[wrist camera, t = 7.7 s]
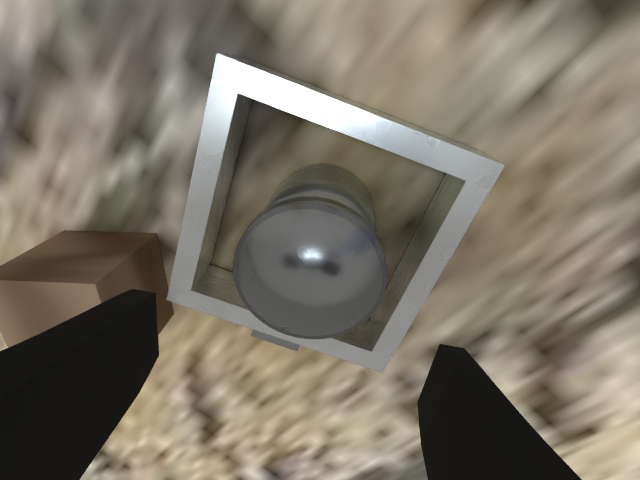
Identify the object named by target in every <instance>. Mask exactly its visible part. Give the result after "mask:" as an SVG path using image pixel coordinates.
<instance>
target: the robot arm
mask: <svg viewBox="0 0 640 480" xmlns="http://www.w3.org/2000/svg"><path fill="white" fill-rule="evenodd" d="M158 356H159V346H158V326H157V306H156V293H153V292H148V291H142V290H137V289H130V290H128V291H126V292H124V293H121V294H119V295H117V296H115V297H113V298H111V299H109V300H107V301H105V302H103V303H101V304H99V305H97V306H95V307H93V308H91V309H89V310H87V311H85V312H83V313H81V314H79V315H77V316H75V317H73V318H71V319H69V320H66V321H64V322H62V323H60V324H58V325H56V326H54V327H52V328H50V329H48V330H46V331H44V332H42V333H40V334H38V335H36V336H33V337H31V338H29V339H27V340H24V341H22V342H20V343H18V344H16V345H13V346H11V347H9V348H7V349H5V350H2V351H0V480H79V479H80V478H81V476H82V475H83V474H84V472H85V471H86V469H87V468H88V466H89V465H90V464H91V462H92V461H93V459H94V458H95V456H96V455H97V453H98V452H99V451H100V449H101V448H102V446H103V445H104V443H105V442H106V440H107V439H108V438H109V436H110V435H111V433H112V432H113V430H114V429H115V427H116V426H117V425H118V423H119V422H120V420H121V419H122V417H123V416H124V414H125V413H126V411H127V410H128V408H129V407H130V406H131V404H132V403H133V401H134V400H135V398H136V397H137V395H138V394H139V392H140V390H141V388H142V387H143V385H144V383H145V381H146V379H147V377H148V376H149V374H150V372H151V370H152V368H153V366H154V364H155V362H156V360H157V358H158ZM418 414H419V427H420V437H421V446H422V451H423V456H424V461H425V466H426V471H427V476H428V480H582V479H581V478H580V477H579V476H578V475H577V474H576V473H575V472H574V471H573V470H572V469H571V468H570V467H569V466H568V465H567V464H566V463H565V462H564V461H563V460H562V459H561V458H560V457H559V456H558V454H557V453H556V452H555V451H554V450H553V449H552V448H551V447H550V446H549V445H548V444H547V443H546V442H545V441H544V440H543V438H542V437H541V436H540V435H539V434H538V433H537V432H536V431H535V430H534V429H533V427H532V426H531V425H530V424H529V423H528V422H527V421H526V420H525V418H524V417H523V416H522V415H521V414H520V413H519V412H518V410H517V409H516V408H515V407H514V406H513V405H512V404H511V402H510V401H509V400H508V399H507V398H506V397H505V395H504V394H503V393H502V392H501V391H500V389H499V388H498V387H497V386H496V385H495V384H494V382H493V381H492V380H491V379H490V378H489V376H488V375H487V374H486V373H485V372H484V371H483V369H482V368H481V367H480V366H479V365H478V363H477V362H476V361H475V360H474V359H473V358H472V357H471V355H470V354H469V353H468V352H467V351H466V350H465V349H464V348H459V347H454V346H448V345H443V344H440V345H439V347H438V350H437V352H436V355H435V358H434V360H433V363H432V366H431V368H430V371H429V374H428V376H427V379H426V381H425V384H424V387H423V389H422V392H421V395H420V397H419V400H418Z"/></svg>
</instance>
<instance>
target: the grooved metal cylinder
mask: <svg viewBox="0 0 640 480" xmlns="http://www.w3.org/2000/svg"><path fill="white" fill-rule="evenodd" d="M233 277H234V282H235V286H236V289H237V291H238V294H239V296H240V298H241V299H242V301H243V303H244V304H245V305H246V307H247V308H248V309H249V311H250V312H251V313H252V314H253V315H254V316H255V317H256V318H257V319H259V320H260V321H261V322H262V323H264V324H265V325H267V326H268V327H270V328H272V329H274V330H276V331H278V332H280V333H283V334H286V335H289V336H292V337H296V338H303V339H326V338H333V337H336V336H340V335H343V334H345V333H348V332H350V331H352V330H354V329H356V328H358V327H359V326H360V325H362V324H363V323H365V322H366V321H367V320H368V319H369V318H370V317H371V316H372V315H373V313H374V312H375V311H376V310H377V308H378V306H379V305H380V303H381V301H382V299H383V296H384V294H385V290H386V286H387V266H386V260H385V255H384V250H383V247H382V244H381V241H380V239H379V237H378V235H377V231H376V225H375V218H374V211H373V205H372V200H371V197H370V195H369V192H368V191H367V189H366V187H365V186H364V184H363V183H362V182H361V181H360V180H359V179H358V178H357V177H356V176H355V175H354V174H352V173H351V172H349V171H348V170H346V169H344V168H341V167H339V166H335V165H330V164H312V165H308V166H305V167H302V168H300V169H298V170H296V171H294V172H293V173H292V174H290V175H289V176H288V177H287V178H286V179H285V180H284V181H283V182H282V184H281V185H280V186H279V188H278V190H277V191H276V193H275V194H274V196H273V197H272V199H271V201H270V202H269V204H268V205H267V207H266V208H265V210H264V211H263V212H261V213H260V214H259V215H258V216H257V217H256V218H255V219H254V220H253V221H252V223H251V224H250V225H249V227H248V228H247V230H246V231H245V233H244V234H243V236H242V237H241V239H240V241H239V243H238V245H237V248H236V251H235V254H234V259H233Z"/></svg>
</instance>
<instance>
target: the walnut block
mask: <svg viewBox="0 0 640 480" xmlns="http://www.w3.org/2000/svg"><path fill="white" fill-rule="evenodd" d="M130 289H137V290H142V291H148V292H153V293H156V306H157V326H158V335H159V333H160V332H161V330H162V329H163V328H164V326H165V325H166V324H167V322H168V321H169V320H170V318H171V317H172V316H173V314H174V312H173V307H172V303H171V301H168V300H167V295H168V290H169V288H168V284H167V279H166V274H165V270H164V265H163V260H162V255H161V251H160V246H159V241H158V237H157V233H131V232H96V231H63V232H61V233H59V234H58V235H56V236H54V237H52V238H50V239H48V240H47V241H45V242H43V243H41V244H39V245H38V246H36V247H34V248H32V249H30V250H29V251H27V252H25V253H23V254H21V255H20V256H18V257H16V258H14V259H12V260H10V261H9V262H7V263H5V264H3V265H1V266H0V331H1V333H2V335H3V337H4V340H5V342H6V344H7V346H8V348H9V347H11V346H13V345H16V344H18V343H20V342H22V341H24V340H27V339H29V338H31V337H33V336H36V335H38V334H40V333H42V332H44V331H46V330H48V329H50V328H52V327H54V326H56V325H58V324H60V323H62V322H64V321H66V320H69V319H71V318H73V317H75V316H77V315H79V314H81V313H83V312H85V311H87V310H89V309H91V308H93V307H95V306H97V305H99V304H101V303H103V302H105V301H107V300H109V299H111V298H113V297H115V296H117V295H119V294H121V293H124V292H126V291H128V290H130Z"/></svg>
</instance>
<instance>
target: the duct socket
mask: <svg viewBox="0 0 640 480" xmlns="http://www.w3.org/2000/svg"><path fill="white" fill-rule="evenodd" d="M252 99H254V100H257V101H260V102H262V103H265V104H268V105H270V106H273V107H275V108H278V109H281V110H283V111H286V112H288V113H291V114H294V115H296V116H299V117H301V118H304V119H307V120H309V121H312V122H314V123H317V124H320V125H322V126H325V127H327V128H330V129H333V130H335V131H338V132H340V133H343V134H346V135H348V136H351V137H353V138H356V139H359V140H361V141H364V142H367V143H369V144H372V145H374V146H377V147H380V148H382V149H385V150H387V151H390V152H393V153H395V154H398V155H400V156H403V157H406V158H408V159H411V160H413V161H416V162H419V163H421V164H424V165H426V166H429V167H432V168H434V169H437V170H439V171H442V172H445V173H446V175H445V176H444V178H443V180H442V182H441V184H440V186H439V188H438V190H437V192H436V194H435V196H434V198H433V199H432V201H431V203H430V205H429V207H428V209H427V211H426V213H425V215H424V217H423V219H422V220H421V222H420V224H419V226H418V228H417V230H416V232H415V234H414V236H413V238H412V240H411V242H410V243H409V245H408V247H407V249H406V251H405V253H404V255H403V257H402V259H401V261H400V263H399V265H398V266H397V268H396V270H395V272H394V274H393V276H392V278H391V280H390V282H389V284H388V286H387V287H386V290H385V294H384V296H383V299H382V301H381V303H380V305H379V306H378V308H377V310H376V311H375V312H374V313H373V315H372V316H371V318H370V320H369V319H368V320H367V321H366V322H365V323H363V324H362V325H360V326H359V327H358V328H356V329H354V330H352V331H350V332H348V333H345V334H343V335H340V336H336V337H333V338H326V339H303V338H296V337H292V336H289V335H286V334H283V333H280V332H278V331H276V330H274V329H272V328H270V327H268V326H267V325H265V324H264V323H262V322H261V321H260V320H259V319H257V318H256V317H255V316H254V315H253V314H252V313H251V312H250V311H249V309H248V308H247V307H246V305H245V304H244V303H243V301H242V299H241V298H240V296H239V294H238V291H237V289H236V286H235V282H234V277H233V272H230V271H227V270H224V269H222V268H219V267H216V266H213V265H210V263H211V259H212V255H213V251H214V247H215V243H216V239H217V235H218V231H219V228H220V224H221V220H222V216H223V212H224V208H225V204H226V200H227V196H228V192H229V189H230V185H231V181H232V177H233V173H234V169H235V165H236V161H237V157H238V153H239V149H240V146H241V142H242V138H243V134H244V130H245V126H246V122H247V118H248V114H249V110H250V106H251V103H252ZM504 166H505V165H503V164H502V163H500V162H499V161H497V160H495V159H494V158H492V157H490V156H489V155H487V154H486V153H484V152H482V151H479V150H477V149H474V148H472V147H469V146H467V145H464V144H461V143H459V142H456V141H454V140H451V139H449V138H446V137H444V136H441V135H439V134H436V133H433V132H431V131H428V130H426V129H423V128H421V127H418V126H416V125H413V124H410V123H408V122H405V121H403V120H400V119H398V118H395V117H393V116H390V115H387V114H385V113H382V112H380V111H377V110H375V109H372V108H370V107H367V106H364V105H362V104H359V103H357V102H354V101H352V100H349V99H347V98H344V97H341V96H339V95H336V94H334V93H331V92H329V91H326V90H324V89H321V88H318V87H316V86H313V85H311V84H308V83H306V82H303V81H301V80H298V79H295V78H293V77H290V76H288V75H285V74H283V73H280V72H278V71H275V70H272V69H270V68H267V67H265V66H262V65H260V64H257V63H255V62H252V61H249V60H247V59H244V58H242V57H239V56H235V55H228V54H220V53H217V55H216V60H215V65H214V70H213V75H212V80H211V85H210V90H209V95H208V99H207V104H206V109H205V114H204V119H203V124H202V129H201V134H200V139H199V143H198V148H197V153H196V158H195V163H194V168H193V173H192V178H191V183H190V187H189V192H188V197H187V202H186V207H185V212H184V217H183V222H182V227H181V231H180V236H179V241H178V246H177V251H176V256H175V261H174V266H173V270H172V275H171V280H170V285H169V290H168V295H167V300H168V301H171V302H174V303H176V304H179V305H182V306H185V307H188V308H191V309H194V310H197V311H200V312H203V313H206V314H209V315H212V316H215V317H218V318H221V319H224V320H227V321H230V322H233V323H236V324H239V325H242V326H245V327H248V328H251V329H253V332H252V335H251V336H253V337H256V338H259V339H262V340H265V341H268V342H271V343H274V344H277V345H280V346H283V347H286V348H289V349H292V350H295V351H297V350H298V348H299V346H300V345H301V346H304V347H307V348H310V349H313V350H316V351H319V352H322V353H325V354H328V355H331V356H334V357H337V358H340V359H343V360H346V361H349V362H352V363H355V364H358V365H361V366H364V367H367V368H370V369H373V370H376V371H379V372H381V373H383V371H384V370H385V368H386V366H387V365H388V363H389V361H390V359H391V358H392V356H393V354H394V353H395V351H396V349H397V348H398V346H399V344H400V343H401V341H402V339H403V337H404V336H405V334H406V332H407V331H408V329H409V327H410V326H411V324H412V322H413V321H414V319H415V317H416V315H417V314H418V312H419V310H420V309H421V307H422V305H423V304H424V302H425V300H426V298H427V297H428V295H429V293H430V292H431V290H432V288H433V287H434V285H435V283H436V282H437V280H438V278H439V276H440V275H441V273H442V271H443V270H444V268H445V266H446V265H447V263H448V261H449V260H450V258H451V256H452V254H453V253H454V251H455V249H456V248H457V246H458V244H459V243H460V241H461V239H462V237H463V236H464V234H465V232H466V231H467V229H468V227H469V226H470V224H471V222H472V221H473V219H474V217H475V215H476V214H477V212H478V210H479V209H480V207H481V205H482V204H483V202H484V200H485V199H486V197H487V195H488V193H489V192H490V190H491V188H492V187H493V185H494V183H495V182H496V180H497V178H498V177H499V175H500V173H501V171H502V170H503V168H504Z"/></svg>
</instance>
